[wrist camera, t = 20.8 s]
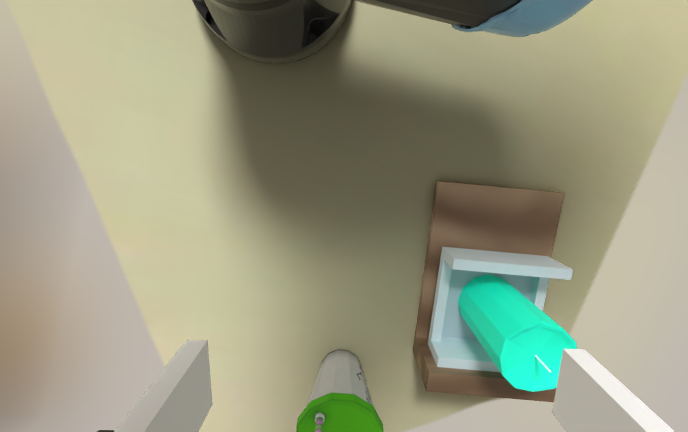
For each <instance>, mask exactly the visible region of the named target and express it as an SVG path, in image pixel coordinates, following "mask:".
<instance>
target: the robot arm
mask: <svg viewBox="0 0 688 432" xmlns="http://www.w3.org/2000/svg"><path fill="white" fill-rule="evenodd" d="M192 1H193V3H194V5H195V7H196V9H197V11H198V13H199V14H200V16H201V18H202V19H203V21H204V22H205V23H206V25H207V26H208V27H209V28H210V30H211V31H212V32H213V33H214V34H215V35H216V36H217V37H218V38H220V39H221V40H222V41H223V42H224V43H225V44H226V45H228V46H229V47H230V48H232V49H233V50H234V51H236V52H238V53H239V54H241V55H243V56H245V57H247V58H250V59H253V60H256V61H260V62H264V63H274V64H278V63H289V62H294V61H297V60H300V59H303V58H305V57H308V56H310V55H311V54H313V53H315V52H316V51H318V50H319V49H321V48H322V47H323V46H324V45H325V44H327V43H328V42H329V41H330V40H331V38H332V37H333V36H334V35H335V34H336V32H337V31H338V30H339V28H340V26H341V25H342V23H343V21H344V19H345V17H346V15H347V12H348V10H349V7H350V3H351V0H192ZM353 1H358V2H362V3H366V4H370V5H374V6H378V7H382V8H386V9H391V10H395V11H399V12H403V13H407V14H411V15H415V16H419V17H424V18H428V19H432V20H436V21H440V22H444V23H448V24H451V25H452V27H453V28H454V29H457V30H460V31H464V32H474V31H484V32H489V33H494V34H500V35H505V36H511V37H524V36H528V35H530V34H537V33H540V32H542V31H546V30H549V29H551V28H553V27H555V26H557V25H559V24H560V23H562V22H564V21H565V20H567V19H568V18H570V17H572V16H573V15H574V14H576V13H577V12H578V11H580V10H581V9H582V8H584V7H585V6H586V5H587V4H589V3H590V2H591V1H592V0H353ZM211 406H212V392H211V379H210V366H209V353H208V340H187V341H186V342H185V343H184V344H183V346H182V347H181V348H180V349H179V351H178V352H177V353H176V354H175V356H174V357H173V358H172V359H171V361H170V362H169V363H168V364H167V366H166V367H165V368H164V370H163V371H162V372H161V373H160V375H159V376H158V377H157V378H156V380H155V381H154V382H153V383H152V385H151V386H150V387H149V388H148V390H147V391H146V392H145V393H144V395H143V396H142V397H141V398H140V400H139V401H138V402H137V404H136V405H135V406H134V408H133V409H132V410H131V411H130V412H129V414H128V415H127V416H126V417H125V419H124V420H123V421H122V422H121V424H120V425H119V426H118V427H117V429H116V430H115V431H113V430H99V431H98V432H198V431H199V429H200V427H201V425H202V423H203V422H204V420H205V418H206V416H207V414H208V412H209V410H210V408H211ZM552 413H553V415H554V416H555V417H556V419H557V420H558V421H559V423H560V424H561V425H562V427H563V428H564V430H565V431H566V432H675V431H674V430H672V429H671V428H670V427H669V426H668V425H667V424H666V423H665V422H664V421H662V420H661V419H660V418H659V417H658V416H657V415H656V414H655V413H654V412H653V411H651V410H650V409H649V408H648V407H647V406H646V405H645V404H643V403H642V401H640V400H639V399H638V398H637V397H636V396H635V395H634V394H633V393H632V392H631V391H629V390H628V389H627V388H626V387H625V386H624V385H623V384H622V383H621V382H620V381H618V380H617V379H616V378H615V377H614V376H613V375H612V374H611V373H610V372H609V371H608V370H606V369H605V368H604V367H603V366H602V365H601V364H600V363H599V362H598V361H597V360H595V359H594V358H593V357H592V356H591V355H590V354H589V353H588V352H586V351H585V350H584V349H563V353H562V358H561V364H560V370H559V376H558V381H557V387H556V393H555V399H554V405H553V411H552Z"/></svg>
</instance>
